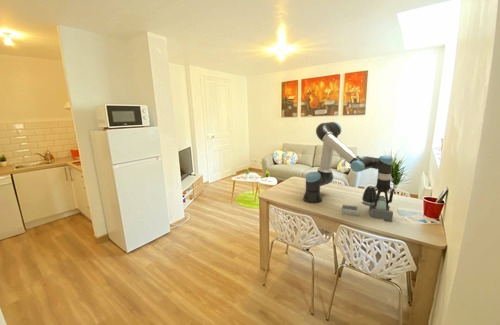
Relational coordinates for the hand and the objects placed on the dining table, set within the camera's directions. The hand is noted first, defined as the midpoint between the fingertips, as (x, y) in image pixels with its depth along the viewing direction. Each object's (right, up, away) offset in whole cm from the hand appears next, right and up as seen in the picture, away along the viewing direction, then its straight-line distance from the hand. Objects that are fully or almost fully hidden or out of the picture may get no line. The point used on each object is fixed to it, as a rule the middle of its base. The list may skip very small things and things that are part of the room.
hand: (380, 210), depth 144 cm
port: (0, -4, +1) cm, 4 cm away
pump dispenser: (+4, 0, +20) cm, 20 cm away
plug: (0, -2, 0) cm, 2 cm away
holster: (-18, -3, +7) cm, 20 cm away
